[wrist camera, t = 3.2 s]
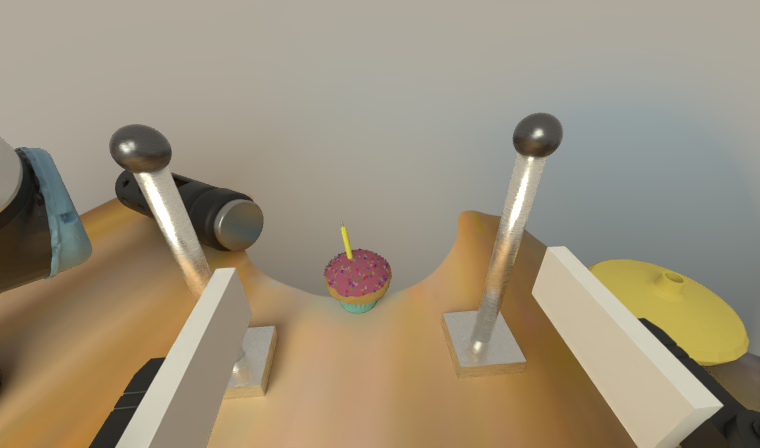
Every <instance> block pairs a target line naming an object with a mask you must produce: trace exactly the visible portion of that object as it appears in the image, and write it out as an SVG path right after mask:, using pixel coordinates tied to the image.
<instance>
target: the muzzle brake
mask: <svg viewBox="0 0 760 448" xmlns="http://www.w3.org/2000/svg"><path fill="white" fill-rule="evenodd" d="M170 173H171V172H170ZM171 175H172V178H173V180H174V182H175V185H176V187H177V190H178V192H179V195H180V197H181V199H182V202H183V204H184V207H185V209H186V211H187V214H188V216H189V219H190V221H191V223H192V226H193V228H194V231H195V233H196V236H197V238H198V240H199V241H200V242H202V243H204V244H206V245H208V246H210V247H213V248H215V249H217V250H220V251H240V250H244V249H247V248H248V247H250V246H251V245H252V244H253V243H254V242H255V241H256V240H257V239H258V237H259V235H260V233H261V231H262V228H263V215H262V211H261V209H260V208H259V207H258V205H257V204H255V203H254V202H253V200H252V199H251V198H250V197H248V196H247V195H245V194H242V193H238V192H235V191H232V190H229V189H225V188H218V187H214V186H211V185H208V184H205V183H202V182H199V181H196V180H193V179H190V178H187V177H184V176H180V175H177V174H174V173H171ZM115 191H116V195H117V197H118V199H119V200H120V202H121V203H122V204H123V205H125V206H126V207H128V208H130V209H132V210H135V211H137V212H139V213H141V214H144V215H146V216H148V217H150V218H152V219H155V217H154V215H153V213H152V211H151V209H150V207H149V205H148V203H147V201H146V199H145V197H144V195H143V193H142V191H141V189H140V187H139V184H138V182H137V180H136V178H135V176H134V174H133V173H132V172H129V171H127V170H125V171H123V172H122V173H121V174H120V176H119V177H118V179H117V181H116V185H115ZM155 220H156V219H155Z"/></svg>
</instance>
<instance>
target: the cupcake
mask: <svg viewBox="0 0 760 448" xmlns="http://www.w3.org/2000/svg"><path fill="white" fill-rule="evenodd" d="M341 225H342V227H341V231H342V236H343V240H344V244H345V249H346V252H345V253H342V254H338V256H336V257H335V256H334V259H332V260H331V262H330V263H329V264H328V266H326V270H325V272H324V276H325V277H326V280H325V281H326V287H327V289H328V291H329V293H330V295H331V296H333V297H334V298H336V299H338V300H339V301H340V302H341V304H342V306H343V307H344V308H345V309H346V310H347V311H349V312H352V313H363V312H366V311H368V310H370V309H371V308H372V307H373V306H374V305H375V303H376V300H377V299H380V298H381V297H382V296H383V295H384V294H385V293H386V291H387V289H388V287H389V284H390V279H391V269H390V266H389V264H388V263H387V262H386V260H384V258H383V257H381V256H379V255H377V253H373V252H371V251H368V250H362V249H359V250H351V247H350V242H349V238H348V233H347V229H346V226H343V222H342V221H341Z"/></svg>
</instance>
